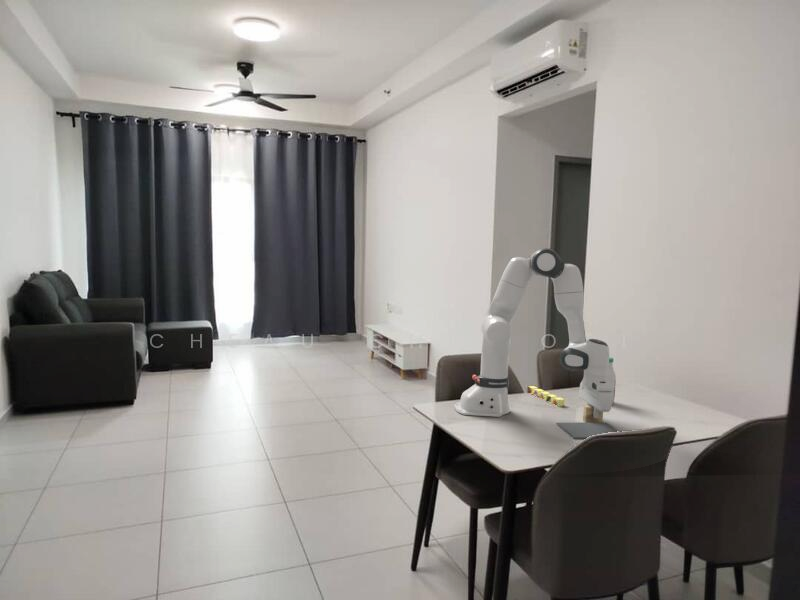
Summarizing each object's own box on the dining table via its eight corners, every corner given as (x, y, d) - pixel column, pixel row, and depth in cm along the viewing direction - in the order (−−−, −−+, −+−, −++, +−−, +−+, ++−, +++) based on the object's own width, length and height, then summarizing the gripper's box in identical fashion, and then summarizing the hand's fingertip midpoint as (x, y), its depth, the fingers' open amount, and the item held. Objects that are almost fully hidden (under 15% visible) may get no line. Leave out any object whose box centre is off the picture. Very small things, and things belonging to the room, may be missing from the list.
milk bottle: (612, 405, 236) (615, 360, 234) (593, 402, 240) (596, 357, 238) (615, 401, 243) (618, 357, 241) (597, 398, 247) (600, 355, 245)
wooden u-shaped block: (585, 422, 212) (586, 407, 212) (582, 420, 214) (583, 405, 214) (602, 422, 213) (603, 407, 212) (599, 420, 215) (601, 405, 214)
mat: (574, 438, 193) (574, 437, 193) (556, 424, 209) (556, 422, 209) (627, 438, 195) (627, 436, 195) (606, 423, 211) (606, 422, 211)
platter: (550, 389, 263) (550, 382, 263) (596, 408, 233) (596, 400, 233) (492, 393, 252) (492, 386, 251) (532, 414, 222) (533, 406, 221)
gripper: (576, 374, 222) (574, 408, 223) (599, 388, 202) (597, 424, 203) (591, 375, 223) (588, 408, 224) (616, 388, 202) (613, 424, 204)
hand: (593, 416), depth 213 cm, fingers closed on wooden u-shaped block, 2 cm apart
